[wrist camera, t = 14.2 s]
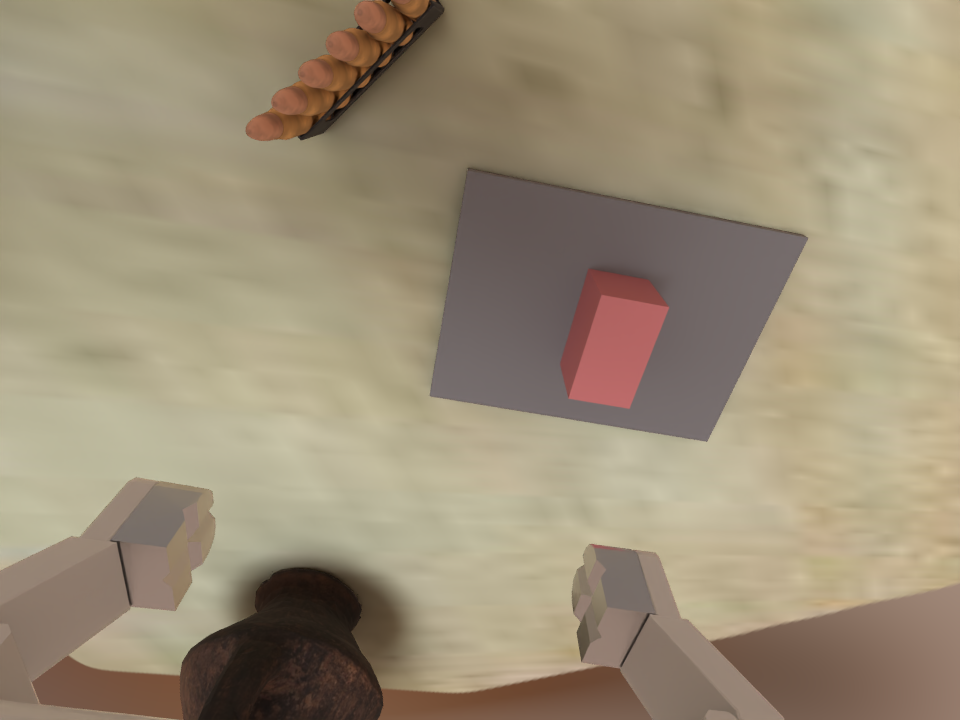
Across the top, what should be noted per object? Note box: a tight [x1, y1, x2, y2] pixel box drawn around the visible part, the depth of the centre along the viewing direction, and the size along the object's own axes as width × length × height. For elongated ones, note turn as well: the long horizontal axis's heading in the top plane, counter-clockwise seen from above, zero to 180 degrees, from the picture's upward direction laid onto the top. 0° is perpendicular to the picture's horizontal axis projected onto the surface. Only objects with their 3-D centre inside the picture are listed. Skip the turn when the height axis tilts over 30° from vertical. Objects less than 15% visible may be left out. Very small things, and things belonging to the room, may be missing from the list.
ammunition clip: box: [246, 0, 444, 141], centre depth 27 cm, size 11×2×12 cm, turn 129°
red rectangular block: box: [560, 269, 669, 409], centre depth 38 cm, size 8×4×5 cm, turn 169°
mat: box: [430, 168, 808, 442], centre depth 40 cm, size 24×18×1 cm
